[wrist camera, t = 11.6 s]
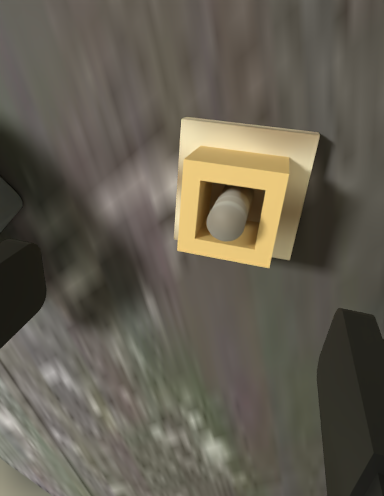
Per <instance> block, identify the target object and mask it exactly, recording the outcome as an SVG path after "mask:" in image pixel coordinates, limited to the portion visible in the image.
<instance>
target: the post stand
mask: <svg viewBox="0 0 384 496" xmlns="http://www.w3.org/2000/svg"><path fill="white" fill-rule="evenodd" d="M319 137H320V135H319V133H318V132H311V131H302V130H293V129H285V128H276V127H268V126H259V125H251V124H242V123H234V122H225V121H217V120H208V119H200V118H191V117H185V118H183V119H181V135H180V151H179V166H178V182H177V198H176V214H175V230H174V239H176V240H178V233H179V218H180V204H181V189H182V175H183V160H184V158H186V157H187V156H188V155H189V154H191V153H192V152H193V151H195V150H196V149H197V148H198V147H200V146H208V147H216V148H223V149H231V150H239V151H246V152H254V153H261V154H269V155H276V156H284V157H289V178H288V182H287V187H286V192H285V197H284V201H283V206H282V211H281V215H280V220H279V225H278V229H277V234H276V239H275V243H274V248H273V253H272V257H274V258H279V259H285V260H290V257H291V253H292V249H293V245H294V241H295V236H296V232H297V228H298V224H299V220H300V216H301V212H302V207H303V203H304V199H305V195H306V191H307V187H308V183H309V179H310V174H311V170H312V166H313V162H314V158H315V154H316V150H317V146H318V141H319ZM265 191H266V190H261V189H254V188H248V187H241V186H234V185H228V184H221V183H215V182H212V191H211V200H210V209H209V215H208V217H207V228H208V231H209V232H210V234H211V235H212V236H213V237H215V238H216V239H218V240H220V241H233V240H235V239H237V238H238V237H240V236H241V234H242V233H243V231H244V228H245V224H246V221H253V222H259V223H260V218H261V213H262V207H263V202H264V197H265Z"/></svg>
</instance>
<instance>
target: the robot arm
mask: <svg viewBox="0 0 384 496" xmlns="http://www.w3.org/2000/svg"><path fill="white" fill-rule="evenodd" d="M45 298H46V284H45V277H44V270H43V263H42V256H41V251H40V248H39V247H38V245H36V244H34V243H29V242H24V241H19V240H14V239H6V240H4V241H2V242H1V243H0V348H2V347H3V346H4V345H5V344H6V343H7V342H8V341H9V340H10V339H11V338H12V337H13V336H14V335H15V334H16V333H17V332H18V331H19V330H20V329H21V328H22V327H23V326H24V325H25V324H26V323H27V322H28V321H29V320H30V319H31V318H32V317H33V316H34V315H35V314H36V313H37V312H38V311H39V310H40V309H41V307H42V306H43V304H44V301H45ZM317 386H318V397H319V408H320V419H321V430H322V442H323V453H324V464H325V475H326V486H327V496H384V339H382V336H381V333H380V330H379V327H378V324H377V321H376V319H375V317H374V316H373V315H371V314H366V313H362V312H357V311H352V310H347V309H342V308H338V309H337V311H336V313H335V315H334V317H333V320H332V323H331V326H330V329H329V331H328V334H327V337H326V340H325V343H324V345H323V348H322V351H321V354H320V357H319V362H318V368H317Z"/></svg>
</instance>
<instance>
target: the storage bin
mask: <svg viewBox="0 0 384 496" xmlns="http://www.w3.org/2000/svg"><path fill="white" fill-rule="evenodd" d="M21 208H22V200H21V198H20V196H19V195H18V194H17V193H16V192H15V191H14V190H13V189H12V188H11V187H10V186H9V185H8V184H7V183H6V182H5V181H4V180H3V179H2V178H1V177H0V233H1V231H2V230H3V229H4V228H5V226H6V225H7V224H8V223H9V222H10V221H11V220H12V218H13V217H14V216H15V215H16V214H17V213H18V212H19V210H20V209H21Z"/></svg>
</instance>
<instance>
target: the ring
mask: <svg viewBox="0 0 384 496" xmlns="http://www.w3.org/2000/svg"><path fill="white" fill-rule="evenodd" d="M288 178H289V157H284V156H276V155H269V154H261V153H254V152H246V151H239V150H231V149H223V148H216V147H208V146H200V147H198V148H197V149H196V150H195V151H193V152H192V153H191V154H189V155H188V156H187V157H186V158H184V160H183V175H182V189H181V204H180V218H179V233H178V247H177V251H182V252H187V253H192V254H197V255H203V256H208V257H213V258H218V259H224V260H229V261H234V262H239V263H245V264H250V265H255V266H260V267H266V268H269V267H270V262H271V257H272V253H273V248H274V243H275V239H276V234H277V229H278V225H279V220H280V215H281V211H282V206H283V201H284V197H285V192H286V187H287V182H288ZM212 182H215V183H221V184H228V185H234V186H241V187H248V188H254V189H261V190H266V191H265V197H264V202H263V207H262V213H261V218H260V223H259V222H253V221H246V224H245V228H244V231H243V233H242V234H241V236H240V237H238V238H237V239H235V240H233V241H220V240H218V239H216V238H215V237H213V236H212V235H211V234H210V232H209V231H208V228H207V217H208V215H209V209H210V200H211V191H212Z"/></svg>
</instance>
